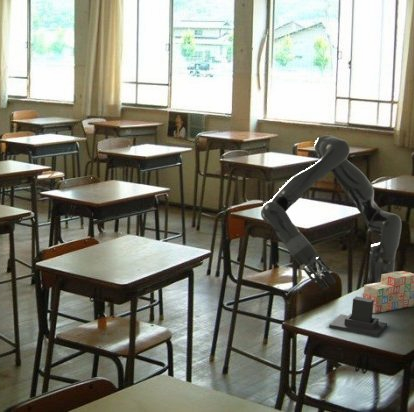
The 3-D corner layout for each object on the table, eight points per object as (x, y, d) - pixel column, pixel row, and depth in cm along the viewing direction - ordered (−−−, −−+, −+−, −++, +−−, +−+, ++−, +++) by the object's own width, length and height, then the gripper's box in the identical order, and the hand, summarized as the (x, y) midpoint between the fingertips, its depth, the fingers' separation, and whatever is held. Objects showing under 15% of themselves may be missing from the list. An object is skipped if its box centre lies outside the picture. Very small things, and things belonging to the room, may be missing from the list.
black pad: (353, 321, 302) (356, 296, 300) (371, 324, 298) (373, 299, 297) (350, 324, 298) (352, 299, 296) (368, 327, 295) (371, 302, 293)
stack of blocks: (375, 313, 314) (378, 281, 311) (361, 309, 319) (364, 276, 317) (413, 305, 325) (417, 274, 322) (399, 301, 330) (403, 270, 328)
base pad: (340, 317, 309) (341, 308, 308) (386, 326, 301) (387, 317, 300) (328, 327, 298) (329, 318, 297) (377, 337, 289) (377, 328, 288)
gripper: (302, 246, 298) (332, 285, 295) (314, 239, 310) (344, 275, 306) (286, 259, 302) (315, 297, 299) (299, 250, 314) (327, 287, 310)
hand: (330, 286), depth 302 cm, fingers open, 8 cm apart
